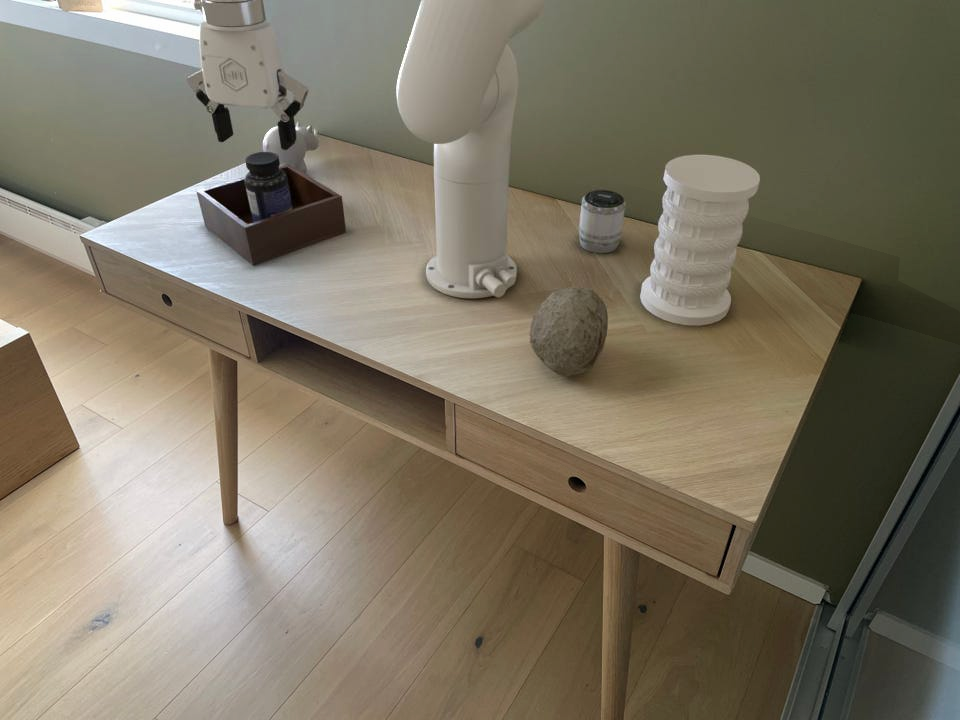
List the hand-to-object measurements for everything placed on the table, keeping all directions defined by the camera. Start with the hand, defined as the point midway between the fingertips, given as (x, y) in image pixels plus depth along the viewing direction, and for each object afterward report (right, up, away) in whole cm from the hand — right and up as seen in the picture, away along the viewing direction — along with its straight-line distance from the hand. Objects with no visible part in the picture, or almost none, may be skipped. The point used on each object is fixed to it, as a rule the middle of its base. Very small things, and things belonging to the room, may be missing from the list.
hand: (257, 142), depth 102 cm
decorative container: (+59, -23, -7) cm, 64 cm away
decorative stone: (+42, -32, -18) cm, 55 cm away
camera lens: (+50, -14, +6) cm, 52 cm away
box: (0, -11, +8) cm, 14 cm away
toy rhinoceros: (-1, +3, +26) cm, 27 cm away
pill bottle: (0, -11, +8) cm, 13 cm away
